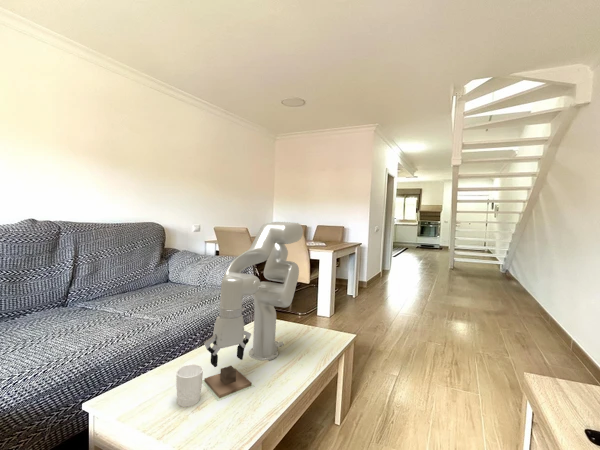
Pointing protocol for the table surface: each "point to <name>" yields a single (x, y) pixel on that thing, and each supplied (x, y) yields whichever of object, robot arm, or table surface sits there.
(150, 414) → the table surface
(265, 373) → the table surface
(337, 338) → the table surface
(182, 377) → the white cup
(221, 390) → the lid
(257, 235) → the robot arm
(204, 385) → the mat
